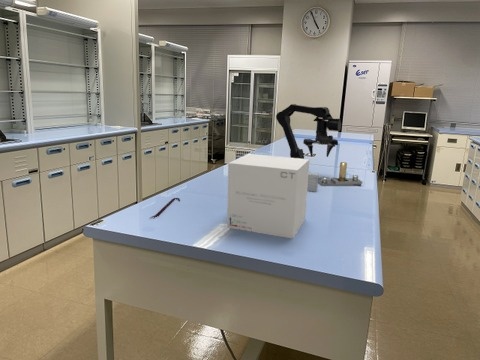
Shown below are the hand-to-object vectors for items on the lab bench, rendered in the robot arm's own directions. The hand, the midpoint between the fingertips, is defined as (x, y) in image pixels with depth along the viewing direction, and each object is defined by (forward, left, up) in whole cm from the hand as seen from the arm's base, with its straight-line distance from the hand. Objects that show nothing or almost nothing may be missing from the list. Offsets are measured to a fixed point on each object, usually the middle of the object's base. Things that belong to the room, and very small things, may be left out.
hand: (319, 156), depth 212 cm
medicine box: (-12, -24, -13) cm, 30 cm away
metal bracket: (+9, -12, -13) cm, 20 cm away
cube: (-42, -71, -13) cm, 84 cm away
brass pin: (+10, -12, -13) cm, 20 cm away
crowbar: (-82, -52, -14) cm, 98 cm away
